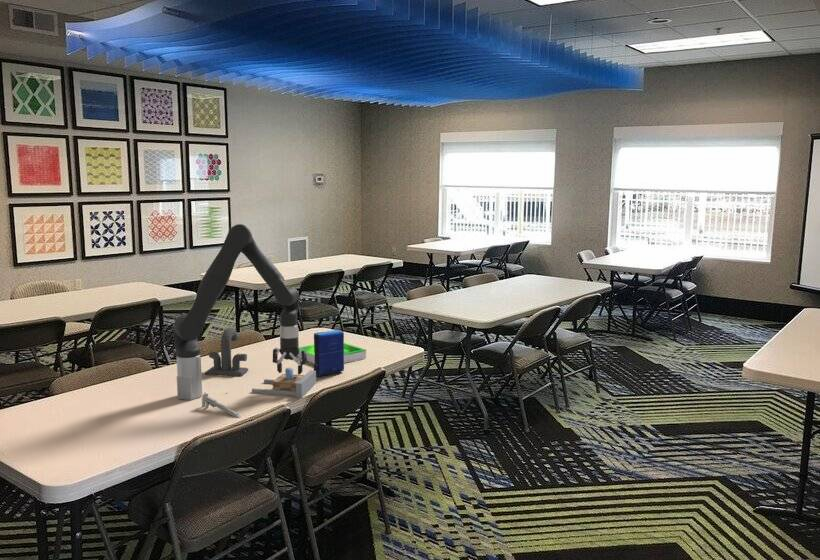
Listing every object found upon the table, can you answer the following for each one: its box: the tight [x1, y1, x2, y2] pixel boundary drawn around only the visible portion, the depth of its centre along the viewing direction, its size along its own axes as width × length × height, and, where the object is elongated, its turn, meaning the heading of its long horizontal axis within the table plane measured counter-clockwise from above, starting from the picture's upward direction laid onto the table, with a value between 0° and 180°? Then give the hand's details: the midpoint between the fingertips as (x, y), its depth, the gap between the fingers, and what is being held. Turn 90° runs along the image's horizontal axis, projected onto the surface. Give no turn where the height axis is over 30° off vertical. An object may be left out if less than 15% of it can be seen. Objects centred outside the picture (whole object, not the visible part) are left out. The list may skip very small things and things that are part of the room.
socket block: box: [272, 373, 305, 391], centre depth 271 cm, size 11×11×4 cm
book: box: [313, 329, 345, 377], centre depth 291 cm, size 14×5×20 cm, turn 126°
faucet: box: [204, 327, 249, 377], centre depth 296 cm, size 18×16×20 cm
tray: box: [298, 342, 367, 364], centre depth 319 cm, size 25×25×5 cm
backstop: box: [251, 369, 317, 399], centre depth 271 cm, size 18×22×6 cm
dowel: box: [284, 367, 294, 380], centre depth 271 cm, size 3×3×9 cm
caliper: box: [201, 392, 241, 418], centre depth 244 cm, size 20×1×6 cm, turn 58°
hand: (290, 373), depth 270 cm, fingers open, 8 cm apart
